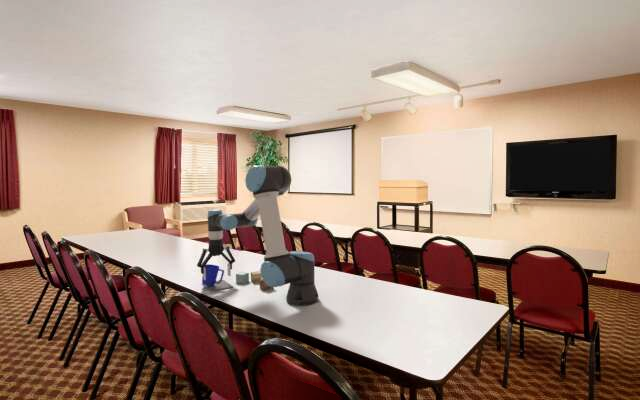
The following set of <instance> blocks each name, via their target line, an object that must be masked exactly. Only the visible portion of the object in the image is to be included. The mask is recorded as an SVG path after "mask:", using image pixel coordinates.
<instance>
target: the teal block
mask: <svg viewBox="0 0 640 400" xmlns="http://www.w3.org/2000/svg"><path fill="white" fill-rule="evenodd" d="M249 275H250V273H249V272H247V271H246V272H245V271H240V272H238V273H235V283H236V284H243V285H244V284H246V283H248V282H249V281H250V277H249Z"/></svg>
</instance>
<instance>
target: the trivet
mask: <svg viewBox="0 0 640 400" xmlns="http://www.w3.org/2000/svg"><path fill="white" fill-rule="evenodd" d="M219 281H220V279H219V280H216V282H219ZM201 285H202V286H203V287H204V288H205V289H207V290H208V291H209V292H211V293H212V292H216V291H222V290H226V289H231V288H232V289H233V288H234V286H233V285H231V284H230V283H229V282H227V281H226V280H225V279H222V281H221V282H220V283H219V284H216V283H215V284H214V285H204V284H203V283H201Z"/></svg>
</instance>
